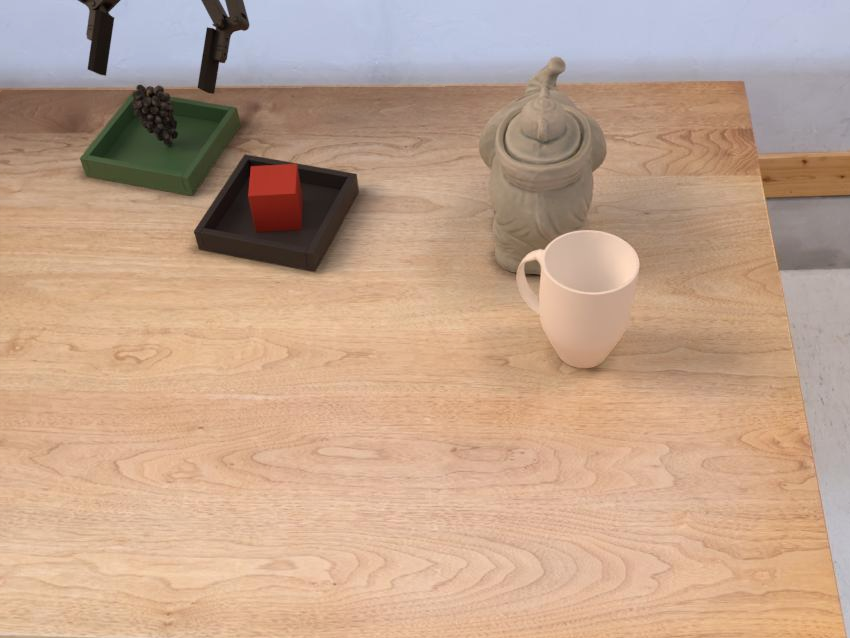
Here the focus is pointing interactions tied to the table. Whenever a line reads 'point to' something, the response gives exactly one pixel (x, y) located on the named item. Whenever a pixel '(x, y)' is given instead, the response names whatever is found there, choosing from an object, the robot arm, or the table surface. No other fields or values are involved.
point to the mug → (583, 294)
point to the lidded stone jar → (539, 168)
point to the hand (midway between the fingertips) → (150, 82)
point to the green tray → (162, 147)
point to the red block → (275, 197)
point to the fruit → (155, 112)
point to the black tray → (302, 249)
